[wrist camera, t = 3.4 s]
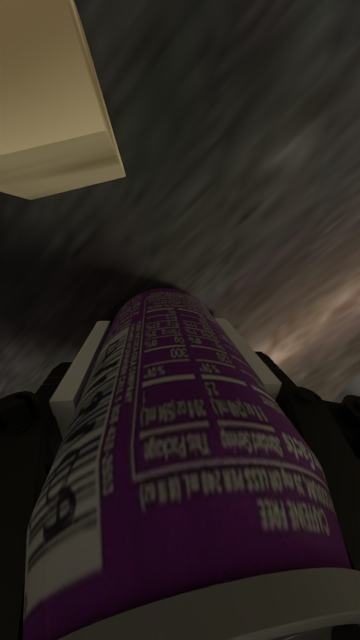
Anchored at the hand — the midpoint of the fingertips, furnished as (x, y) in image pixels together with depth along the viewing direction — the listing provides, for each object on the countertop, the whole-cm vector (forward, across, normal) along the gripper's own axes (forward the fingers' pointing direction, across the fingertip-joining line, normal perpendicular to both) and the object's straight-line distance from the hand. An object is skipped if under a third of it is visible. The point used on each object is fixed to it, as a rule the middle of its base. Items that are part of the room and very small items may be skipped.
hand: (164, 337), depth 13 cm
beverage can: (+1, 0, 0) cm, 1 cm away
